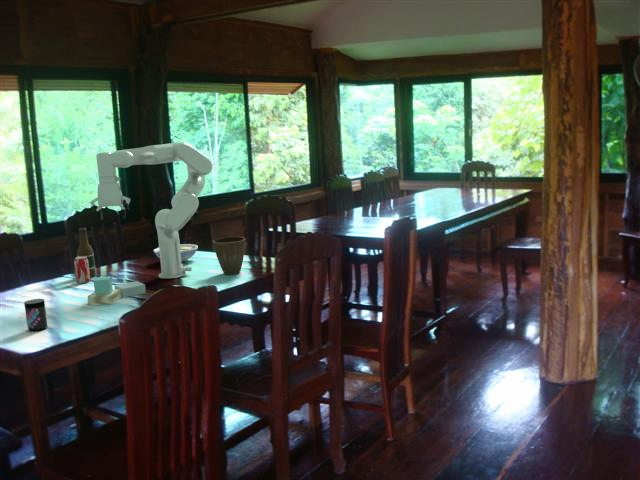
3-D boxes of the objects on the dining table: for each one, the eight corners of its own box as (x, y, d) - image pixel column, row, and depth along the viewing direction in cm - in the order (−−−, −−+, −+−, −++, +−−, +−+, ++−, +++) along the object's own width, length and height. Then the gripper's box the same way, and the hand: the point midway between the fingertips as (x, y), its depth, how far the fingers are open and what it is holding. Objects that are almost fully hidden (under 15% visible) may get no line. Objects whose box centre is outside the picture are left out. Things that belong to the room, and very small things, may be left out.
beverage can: (86, 284, 315) (83, 258, 313) (74, 284, 317) (70, 258, 315) (93, 280, 321) (90, 255, 319) (81, 281, 323) (78, 256, 321)
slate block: (138, 289, 299) (137, 280, 299) (145, 293, 291) (144, 284, 290) (115, 294, 294) (114, 285, 293) (122, 298, 286) (121, 289, 285)
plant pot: (227, 278, 309) (224, 243, 307) (209, 274, 321) (206, 240, 318) (254, 272, 319) (251, 238, 316) (235, 268, 330) (233, 235, 327)
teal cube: (112, 290, 284) (111, 276, 283) (110, 293, 278) (108, 279, 277) (97, 291, 283) (96, 277, 282) (95, 295, 277) (93, 280, 276)
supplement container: (25, 329, 246) (21, 301, 244) (44, 325, 250) (40, 297, 248) (31, 333, 241) (27, 304, 239) (50, 328, 245) (47, 300, 243)
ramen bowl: (194, 265, 343) (192, 249, 341) (149, 268, 343) (147, 252, 342) (203, 256, 367) (202, 241, 366) (161, 258, 368) (159, 243, 366)
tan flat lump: (121, 298, 285) (120, 289, 285) (112, 304, 276) (111, 295, 275) (97, 299, 286) (96, 290, 285) (88, 306, 276) (87, 296, 276)
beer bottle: (80, 279, 326) (74, 230, 321) (78, 276, 332) (72, 228, 328) (97, 277, 329) (92, 228, 325) (94, 274, 336) (89, 226, 332)
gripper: (129, 178, 305) (133, 216, 308) (90, 181, 304) (94, 219, 306) (126, 179, 297) (130, 218, 300) (85, 182, 296) (90, 221, 299)
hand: (112, 219), depth 303 cm, fingers open, 9 cm apart
